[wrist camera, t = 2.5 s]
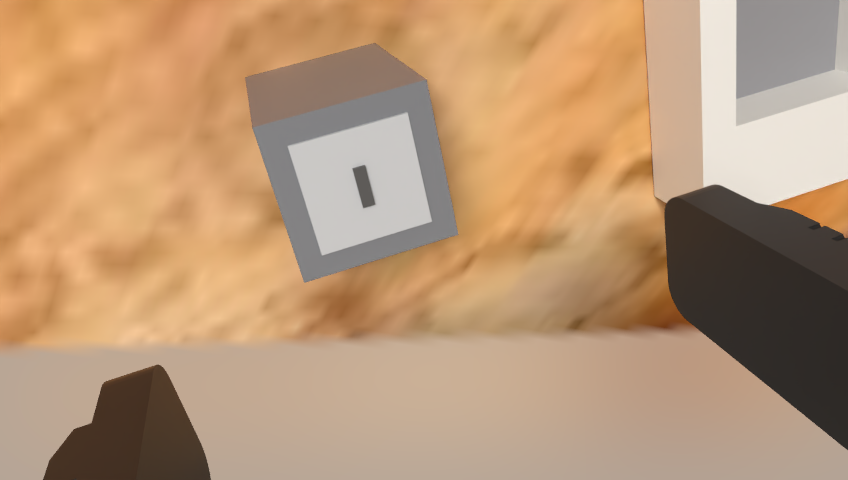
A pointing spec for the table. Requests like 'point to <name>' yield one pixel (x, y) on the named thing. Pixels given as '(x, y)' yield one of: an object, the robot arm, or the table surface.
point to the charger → (351, 158)
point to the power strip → (747, 95)
